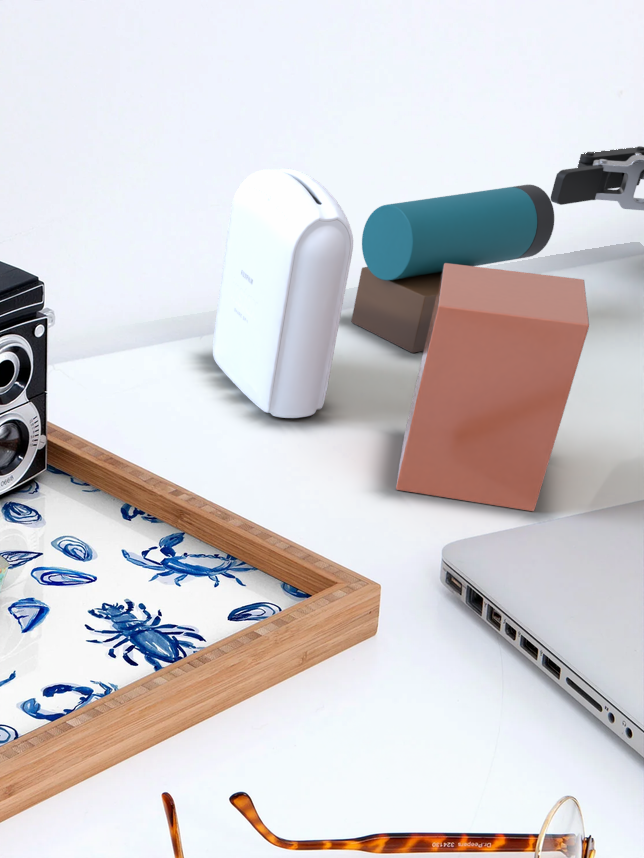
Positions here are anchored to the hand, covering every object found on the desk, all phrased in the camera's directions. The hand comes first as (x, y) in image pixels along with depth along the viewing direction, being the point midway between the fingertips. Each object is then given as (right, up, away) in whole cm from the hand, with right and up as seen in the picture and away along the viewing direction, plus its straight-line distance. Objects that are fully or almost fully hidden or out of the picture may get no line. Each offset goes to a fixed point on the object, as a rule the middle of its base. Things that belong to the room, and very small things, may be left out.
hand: (605, 205), depth 98 cm
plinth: (-16, -21, -19) cm, 33 cm away
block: (-13, -9, -2) cm, 16 cm away
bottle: (-11, -3, -4) cm, 12 cm away
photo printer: (-25, -15, -10) cm, 31 cm away
